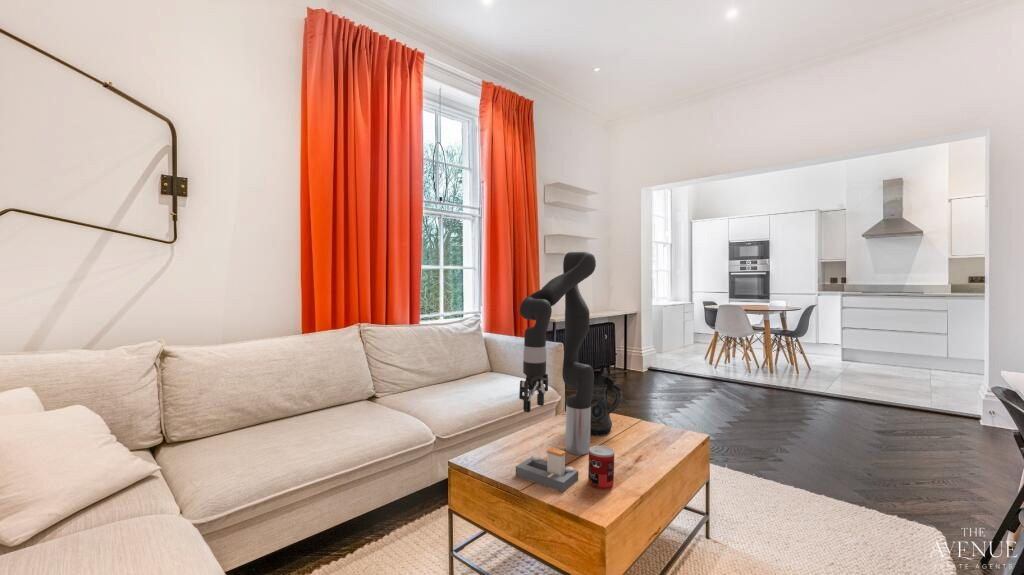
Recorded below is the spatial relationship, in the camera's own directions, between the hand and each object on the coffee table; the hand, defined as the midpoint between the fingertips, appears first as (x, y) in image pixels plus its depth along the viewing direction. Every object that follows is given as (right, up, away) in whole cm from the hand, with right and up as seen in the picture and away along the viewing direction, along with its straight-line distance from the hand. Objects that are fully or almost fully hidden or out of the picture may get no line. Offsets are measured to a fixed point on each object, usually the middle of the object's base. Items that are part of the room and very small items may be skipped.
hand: (533, 408), depth 141 cm
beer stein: (+29, -22, +45) cm, 58 cm away
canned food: (+21, -23, -3) cm, 32 cm away
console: (+4, -23, 0) cm, 23 cm away
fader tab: (+7, -23, -2) cm, 24 cm away
